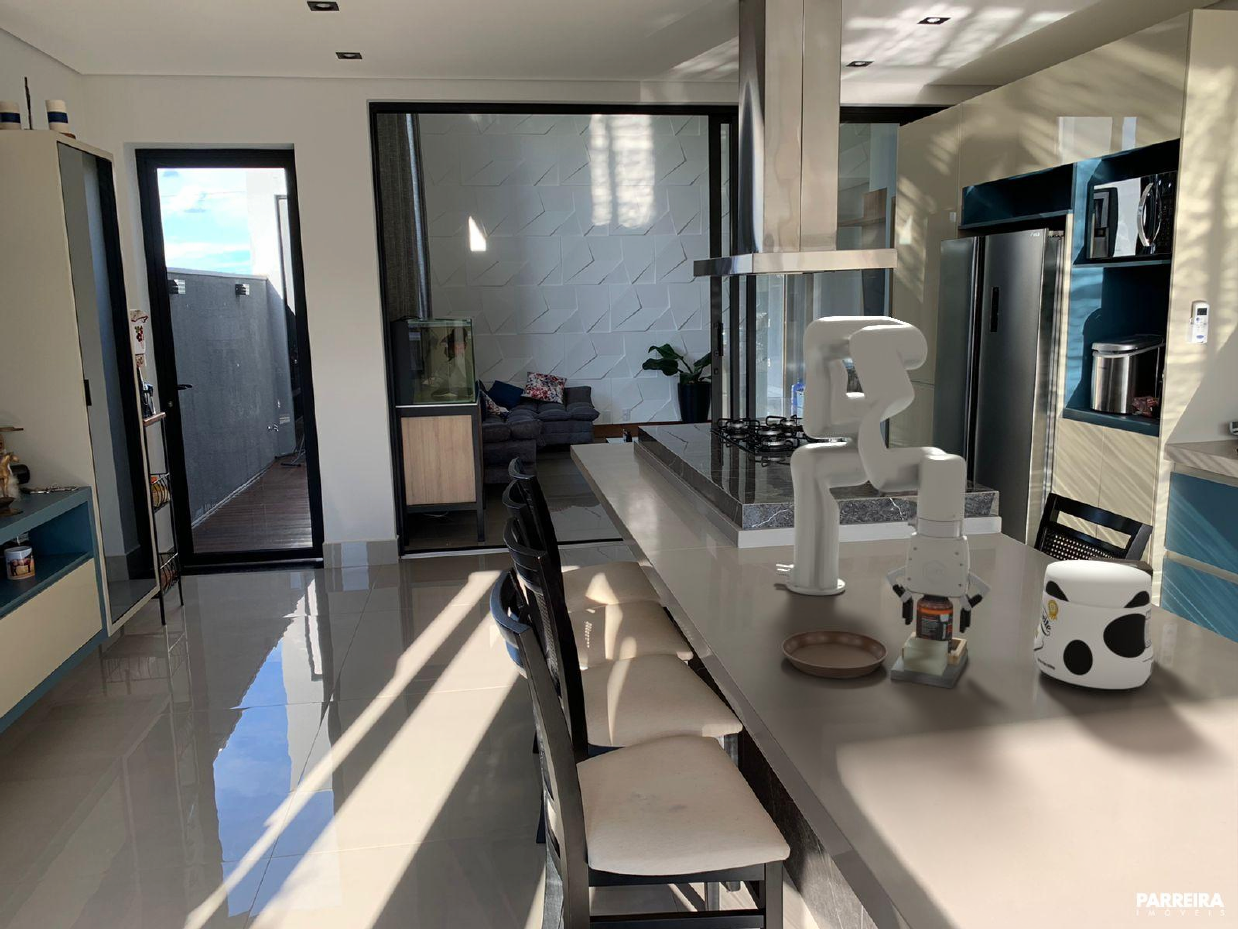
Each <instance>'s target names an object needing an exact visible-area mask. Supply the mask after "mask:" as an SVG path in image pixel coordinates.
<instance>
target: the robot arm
mask: <svg viewBox="0 0 1238 929" xmlns="http://www.w3.org/2000/svg"><path fill="white" fill-rule="evenodd" d="M928 350H929V349H928V344H927V340H926V338H925V335H924V334H923V332H922V331H921V330H920V329H919V328H918V327H916V326H915V325H913V324H910V323H908V322H905V321H904V322H903V321H900V320H898V319H895V318H891V317H889V316H881V315H880V316H877V315H876V316H875V315H874V316H872V315H871V316H869V315H868V316H866V315H865V316H851V315H850V316H845V315H844V316H826V317H822V318H818V319H815V320H813V321H811V322H810V323H809V324H808V325H807V326H806V328H805V331H804V334H803V338H802V351H803V352H802V353H803V360H804V364H805V382H804V383H805V384H804V391H803V392H804V394H803V395H804V396H803V404H802V405H803V406H802V416H801V417H802V420H801V424H802V430H803V432H804V434H805V435H806V437H807V436H808V438H811V439H816V440H818V439H819V440H827V439H828V440H830V439H831V440H832V439H833V440H834V439H835V440H836V439H846V441H843V442H841V441H839V442H817V443H808V444H805V445H801V446H799V447H798V448H796V449H795V450H794V451H793V453H792V455H791V456H790V462H789V463H790V466H789V467H790V472H791V479H792V487H793V500H794V505H793V506H794V512H793V514H794V515H793V516H794V520H793V521H794V523H793V524H794V526H793V527H794V528H793V564H790V565H786V564H781V563H779V564H778V563H777V564H775V569H774V570H775V573H777V576H787V578H788V579H786V581H785V587H786V588H787V589H788V590H789V591H792V592H794V593H798V594H801V595H807V596H808V595H809V596H831V595H836V594H840V593H842V592H844V591H845V590H846V583H845V582H844V581H843V580H842V579H840V578H839V555H840V550H839V548H840V546H839V545H840V507H839V503H838V502H837V500H836V499H835V497H834V495H833V494H832V493H831V491H830V489H832V488H834V489H835V488H840V487H841V488H842V487H854V486H855V487H856V486H861V485H864V484H865V483H867V482H868V481H869V482H870V484H871V485H872V487H873V488H875V489H876V490H878V491H880V492H883V493H896V492H897V493H898V492H909V491H917V500H916V503H917V505H916V506H917V507H916V516H915V517H909V518H907V526H910V527H913V528H914V530H915V531H914V532H912V533H911V534H910V537H909V542H908V547H907V551H906V552H907V553H906V562H905V565H903V566H902V567H901V566H900V567H899V568H897V569H895V570H893V571H890V572H889V573H888V574H887V575H886V579H887V581H888V583H889V584H890V586H891V587H892V591H893V592H894V593H895V594H896V595H897V597H898V598H899V599H900V602H902V605H901V606H902V607H901V608H902V609H901V618H902V619H904V626H909V625H911V624H912V622H913V620H914V602H915V601H914V599H913V595H914V594H919V595H923V594H925V595H932V596H940V597H948V599H949V598H950V599H957V600H958V601H959V603H960V604H961V609H960V611H959V628H958V631H959V633H960V634H965V632H966V630H967V628H970V627H971V624H972V623H971V622H972V620H971V619H972V609H973V608H974V607H976V606H977V605H978V604H980V603H981V602H982V600H983V599H984V598H985V597H986V596H987V594H988V593H989V592H990V591H991V589H992V586H991V584H989V583H988V582H986V581H985V580H983V578H981V577H979V576H978V575H976V574H975V573H974V572H973V571H971V560H970V558H971V557H970V549H969V548H970V546H969V542H968V537H967V536H966V535H964V529H965V528H964V526H965V525H964V523H965V506H966V505H965V504H966V486H967V485H966V483H967V482H966V481H967V462H966V460H965V458H964V457H962V456H960V455H958V454H951V453H947V452H945V451H944V450H943V449H941V448H940V447H934V446H918V447H913V446H911V447H894V448H887V446H886V443H885V441H884V438H883V436H882V433H881V432H882V430H881V422H883V421H885V420H887V419H889V418H892V417H893V416H895V415H897V414H899V413H901V412H902V411H904V410H906V408H908V407H910V405H911V404H912V402H913V400H914V399H915V396H916V394H915V389H914V386H913V384H912V382H911V379H910V377H909V375H908V372H907V371H909V370H911V371H912V370H916V369H919V368H920V367H922V366H923V364H924V363H925V362H926V359H927V357H928ZM843 360H851V362H852V364H853V367H854V371H855V373H856V376H857V379H858V382H859V384H860V387H861V390H862V392H847V390H848V389H847V388H848V381H849V379H848V378H849V373H848V371H847V367H846V365H845V364H844V362H843ZM902 576H904V586H903V585H902V584H901V583H900V582H899V579H898V578H901V577H902ZM971 584H972V585H973V586H974V587H976V588H978V592H977V593H976V594H974V595H973V596H972V597H971V596H970V594H969V593H968V590H969V589H970V585H971Z"/></svg>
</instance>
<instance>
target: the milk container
mask: <svg viewBox="0 0 1238 929" xmlns="http://www.w3.org/2000/svg"><path fill="white" fill-rule="evenodd" d="M1152 599H1153V581H1152V582H1151V576H1150V575H1149V574H1147V573H1146V572H1144V571H1142V570H1139V569H1136V568H1133V567H1130V566H1125V565H1121V564H1116V563H1109V562H1102V561H1090V560H1087V559H1086V560H1085V559H1077V560H1076V559H1075V560H1074V559H1069V560H1060V561H1054V562H1051V563H1049V564H1048V565H1047V567H1046V570H1045V573H1044V579H1043V591H1042V609H1041V610H1042V611H1041V618H1040V622H1039V624H1038V627H1037V630H1036V633H1035V635H1034V641H1033V655H1034V660H1035V661H1034V662H1035V663H1036V666H1037V668H1038V669H1039V671H1041V672H1042V674H1044V675H1045V676H1046V677H1048V678H1050V679H1052V680H1054V681H1055V682H1057V683H1060V684H1063V685H1065V686H1069V687H1072V688H1075V689H1082V690H1085V691H1091V692H1100V693H1101V692H1102V693H1120V692H1121V693H1124V692H1128V691H1132V690H1133V691H1134V690H1137V689H1139V688H1141V687H1143V686H1144V685H1145V684H1147V682H1148V681H1149V680H1150V678H1151V676H1152V673H1153V668H1154V661H1155V653H1154V647H1153V643H1152V642H1153V641H1152V639H1151V634H1150V632H1151V630H1150V624H1151V617H1152V616H1151V615H1152V607H1153V604H1152Z"/></svg>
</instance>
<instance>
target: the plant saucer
mask: <svg viewBox="0 0 1238 929" xmlns="http://www.w3.org/2000/svg"><path fill="white" fill-rule="evenodd" d="M781 649H782V652H783V653H784V655H785V657H786V658H787V659H788V660H789V661H790V663H791V664H793V667H796V668H797V669H798V670H800V671H801V672H804V673H806V674H810V675H814V676H817V677H821V678H822V677H823V678H831V679H851V678H852V679H853V678H858V677H864V676H867V675H868V674H871V673H872V672H874V671H876V669H877V668H879V667H880V666H881V664H882V663H883V662H884V661H885V660H886V658H887V656H888V647H887V646H886V645H885V644H884V643H882V642H881V641H879V640H877V639H876V638H873V637H871V636H869V635H866V634H862V633H858V632H852V631H846V630H837V629H836V630H831V629H825V630H824V629H823V630H812V631H811V630H810V631H809V630H808V631H804V632H799V633H796V634H793V635H791V636H789V637H787V638H786V639H785V640H783V642H782V644H781Z"/></svg>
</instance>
